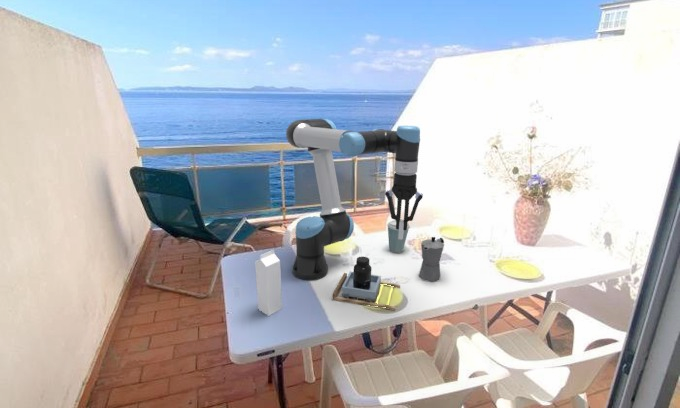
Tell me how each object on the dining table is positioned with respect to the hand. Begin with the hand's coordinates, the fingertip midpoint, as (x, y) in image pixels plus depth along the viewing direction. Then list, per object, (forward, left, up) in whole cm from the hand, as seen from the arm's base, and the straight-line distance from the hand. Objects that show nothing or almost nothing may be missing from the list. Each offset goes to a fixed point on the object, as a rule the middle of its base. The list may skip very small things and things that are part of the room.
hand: (400, 237), depth 123 cm
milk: (-42, -20, -25) cm, 53 cm away
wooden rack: (-11, 0, -24) cm, 27 cm away
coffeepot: (+12, +22, -25) cm, 35 cm away
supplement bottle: (-13, 0, -23) cm, 26 cm away
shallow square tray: (-13, 0, -24) cm, 28 cm away
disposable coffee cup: (-5, +43, -25) cm, 49 cm away
